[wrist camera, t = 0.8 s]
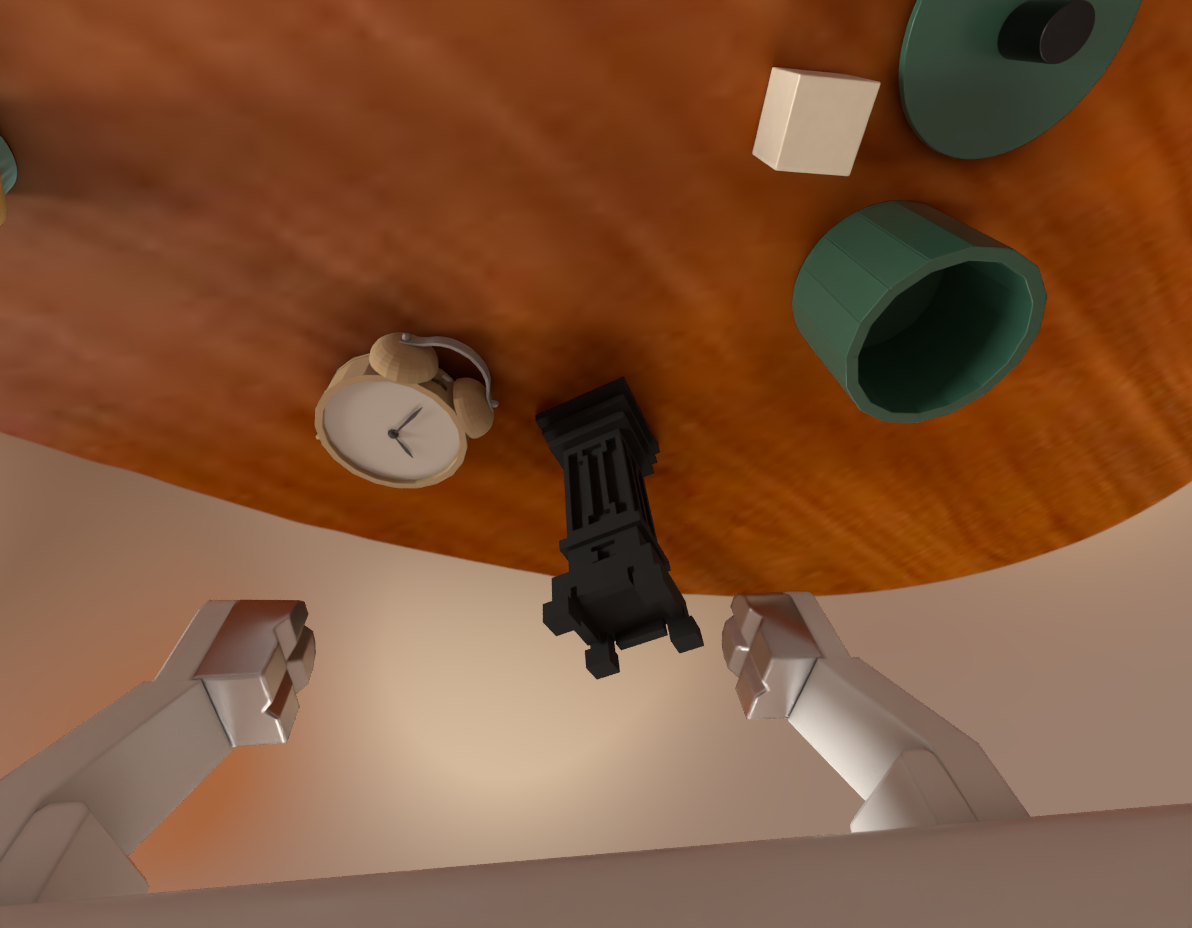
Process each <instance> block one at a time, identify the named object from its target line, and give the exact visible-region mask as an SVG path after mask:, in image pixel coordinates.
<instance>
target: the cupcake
mask: <svg viewBox="0 0 1192 928" xmlns="http://www.w3.org/2000/svg"><path fill="white" fill-rule="evenodd" d="M16 178H17V167H16V162H15V159H14V157H13V154H12V152H11V150H10V149H9V147H8V145H7V144H6V142H5V141H4V140H3V138H2V137H1V136H0V226H1V225H2V224H3V222H4V221H5V219H6V216H7V206H6V198H5V195H6V194H7V192H8V191H9V190H10V189H11V188H12V187H13V185H14V183H15V181H16Z"/></svg>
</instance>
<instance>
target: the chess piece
mask: <svg viewBox="0 0 1192 928" xmlns="http://www.w3.org/2000/svg"><path fill="white" fill-rule="evenodd" d="M536 423H537V424H538V426H539V427H540V429H541V430H542V435H543V436H544V438H545V439H546V441H547V442H548V444H549V449H550V450H551V452H552V453H553V455H554V456H555V458H556V459H557V460H558V462H559V463H560V465H561V466H562V468H563V469H564V481H565V501H566V521H567V538H565V539H562V540H560V541H559V545H560V551H561V552H562V553H563V555H564V556H565V557H566V559H567V560H568V561H569V572H567V573H565V574H562V575H559V576H556V577H554V578H552V601H551V602H548V603H545V604H543V623H544V624H545V625H546V626H547V627H548V628H549V629H550V630H551V631H552V632H553V633H554V634H555V635H556V636H558V635H561V634H564V633H567V632H570V631H573V630H574V631H575V632H576V633H577V634H578V635H579V636H580V637H581V638H582V640H583V641H584V642H585V643H586V644H587V645H590V646H591V649H588V650H585V658H586V668H587V669H588V670H589V672H590V673H591V674H592V675H593V676H594V677H595V678H596V679H600V678H603V677H606V676H609V675H613V674H616V673H619V672H620V669H619V660H618V655H617V653H616V652H615V644H614V641H616V645H617V646H618V647H619V648H620V649H621V650H623V649H626V648H630V647H633V646H636V645H639V644H642V643H645V642H648V641H651V640H654V639H657V638H660V637H664V636H667V635H668V634H667V629H666V624H667V625H668V630H669V634H670V639H671V642H672V643H673V645H674V646H675V648H676V649H677V651H678V652H679V653H682V652H686V651H688V650H692V649H695V648H698V647H701V646H704V643H703V639H702V635H701V632H700V628H699V627H698V625H697V624H696V622H695V620H694V618H693V617H692V616H689V614H688V610H687V607H686V602H685V600H684V598H683V596H682V595H681V593H680V591H679V590H678V588H677V586H676V585H675V583H674V581H673V580H672V578H671V577H670V575H669V573H668V571H671V569H670V565H669V561H668V559H667V558H666V556H665V554H664V553H663V551H662V549H661V548H660V546H659V544H658V543H657V538H656V534H655V529H654V524H653V520H652V515H651V511H650V506H649V501H648V497H647V492H646V488H645V483H644V479H643V477H646V476H648V475H651V474H653V473H654V470H653V467H652V464H654V463H657V460H656V456H655V454H657V453H659V452H660V450H659V447H658V445H657V443H656V441H655V439H654V437H653V435H652V433H651V431H650V429H649V427H648V425H647V423H646V421H645V419H644V417H643V415H642V413H641V411H640V409H639V407H638V405H637V403H636V401H635V399H634V397H633V395H632V393H631V391H630V389H629V387H628V385H627V383H626V381H625V379H624V377H623V378H620V379H618V380H616V381H613V382H611V383H609V384H607V385H604V386H602V387H600V388H598V389H595V390H593V391H591V392H588V393H586V394H584V395H582V396H579V397H577V398H575V399H572V400H570V401H568V402H566V403H563V404H561V405H559V406H557V407H554V408H552V409H550V410H547V411H545V412H543V413H541V414H538V415H536Z"/></svg>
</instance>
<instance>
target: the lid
mask: <svg viewBox="0 0 1192 928" xmlns="http://www.w3.org/2000/svg"><path fill="white" fill-rule="evenodd" d="M1140 4H1141V0H916V3H915V5H914V8H913V10H912V13H911V16H910V18H909V21H908V25H907V28H906V32H905V35H904V39H903V44H902V49H901V54H900V63H899V92H900V99H901V105H902V108H903V111H904V115H905V118H906V120H907V122H908V124H909V126H910V128H911V129H912V131H913V132H914V133H915V135H916V136H917V137H918V139H919V140H920V141H922V142H923V143H924V144H925V145H926V146H927V147H929V148H931V149H932V150H934V151H936V152H938V153H941V154H943V155H946V156H949V157H952V158H958V159H982V158H989V157H993V156H996V155H1000V154H1003V153H1006V152H1008V151H1011V150H1013V149H1016V148H1018V147H1020V146H1022V145H1024V144H1026V143H1028V142H1029V141H1031V140H1033V139H1035V138H1036V137H1038V136H1039V135H1041V134H1042V133H1044V132H1045V131H1047V130H1048V129H1049V128H1051V127H1052V126H1053V125H1054V124H1056V123H1057V122H1058V121H1060V120H1061V119H1062V118H1063V117H1064V116H1065V115H1066V114H1067V113H1068V112H1070V111H1071V110H1072V109H1073V108H1074V107H1075V106H1076V105H1077V104H1078V103H1079V102H1080V101H1081V100H1082V99H1083V97H1084V96H1085V95H1086V94H1087V93H1088V92H1089V91H1090V90H1091V88H1092V87H1093V86H1094V85H1095V83H1096V82H1097V81H1098V80H1099V79H1100V77H1101V76H1102V75H1103V73H1104V72H1105V70H1106V69H1107V67H1108V66H1109V65H1110V63H1111V62H1112V60H1113V59H1114V57H1115V55H1116V54H1117V52H1118V50H1119V49H1120V47H1121V45H1122V43H1123V42H1124V40H1125V38H1126V36H1127V34H1128V32H1129V30H1130V28H1131V26H1132V24H1133V21H1134V19H1135V16H1136V14H1137V11H1138V9H1139V6H1140Z"/></svg>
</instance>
